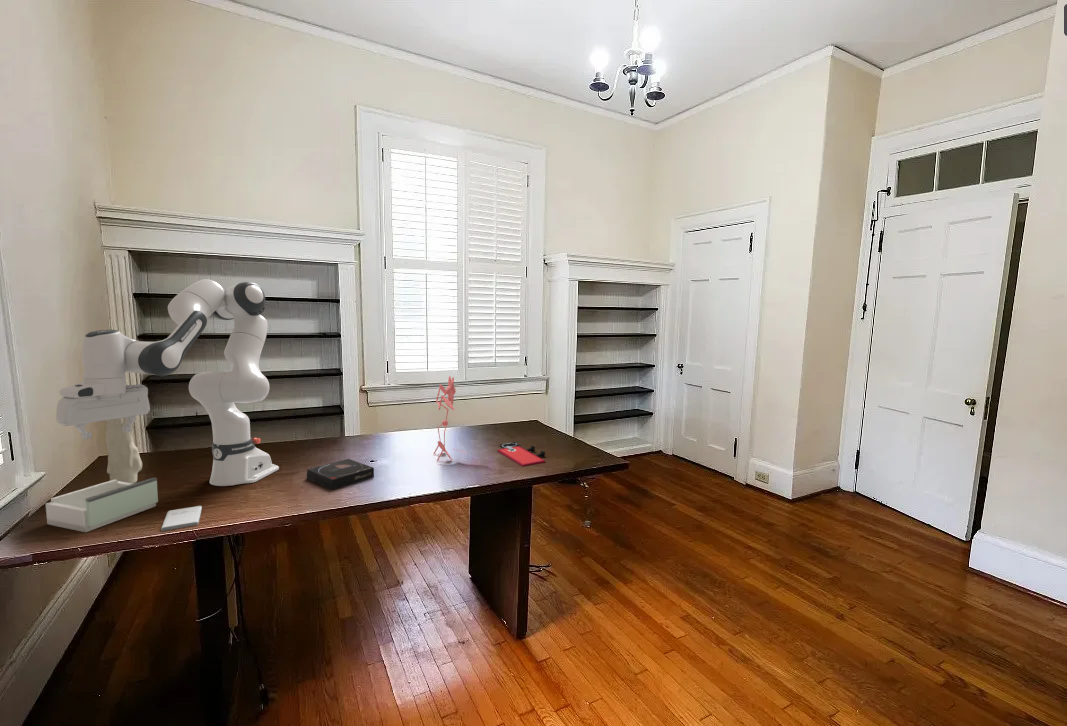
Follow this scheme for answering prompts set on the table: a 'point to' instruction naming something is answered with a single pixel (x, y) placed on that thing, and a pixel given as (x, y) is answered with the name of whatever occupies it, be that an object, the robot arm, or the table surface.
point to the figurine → (450, 392)
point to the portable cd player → (340, 473)
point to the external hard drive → (182, 518)
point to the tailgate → (121, 501)
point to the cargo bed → (82, 507)
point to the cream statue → (121, 452)
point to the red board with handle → (521, 454)
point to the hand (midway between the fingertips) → (107, 435)
